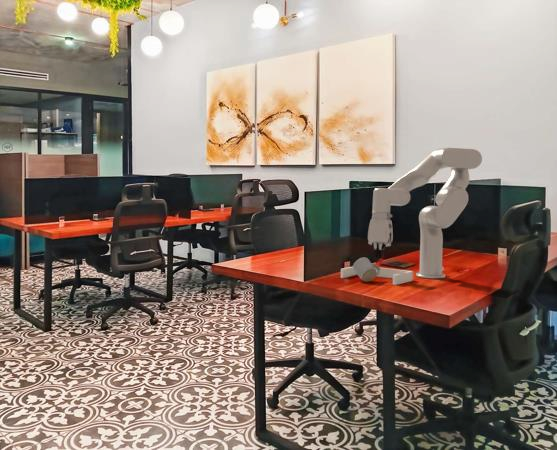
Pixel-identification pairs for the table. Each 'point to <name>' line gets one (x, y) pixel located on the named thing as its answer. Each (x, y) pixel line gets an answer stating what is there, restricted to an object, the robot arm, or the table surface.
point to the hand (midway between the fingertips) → (378, 258)
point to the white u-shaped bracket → (384, 274)
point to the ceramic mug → (366, 269)
